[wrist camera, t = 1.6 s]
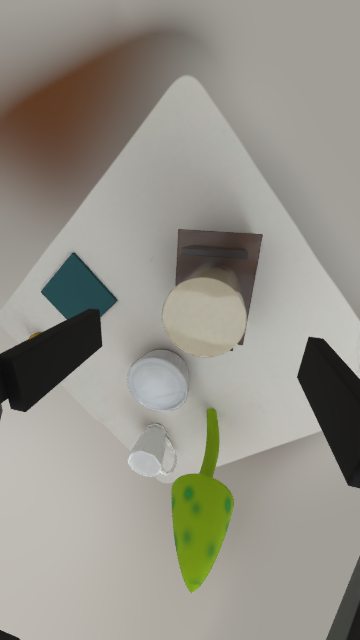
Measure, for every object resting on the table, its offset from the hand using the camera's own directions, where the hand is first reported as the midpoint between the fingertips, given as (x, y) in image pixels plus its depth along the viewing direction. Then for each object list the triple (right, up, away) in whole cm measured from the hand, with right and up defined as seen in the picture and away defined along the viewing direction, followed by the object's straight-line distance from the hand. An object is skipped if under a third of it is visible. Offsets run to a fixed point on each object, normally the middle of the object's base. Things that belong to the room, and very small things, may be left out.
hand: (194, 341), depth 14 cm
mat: (-20, +6, +28) cm, 35 cm away
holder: (+5, +8, +21) cm, 24 cm away
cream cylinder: (+3, +5, +12) cm, 14 cm away
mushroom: (+5, -17, +31) cm, 36 cm away
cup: (-5, -24, +36) cm, 44 cm away
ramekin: (-4, -8, +30) cm, 31 cm away
